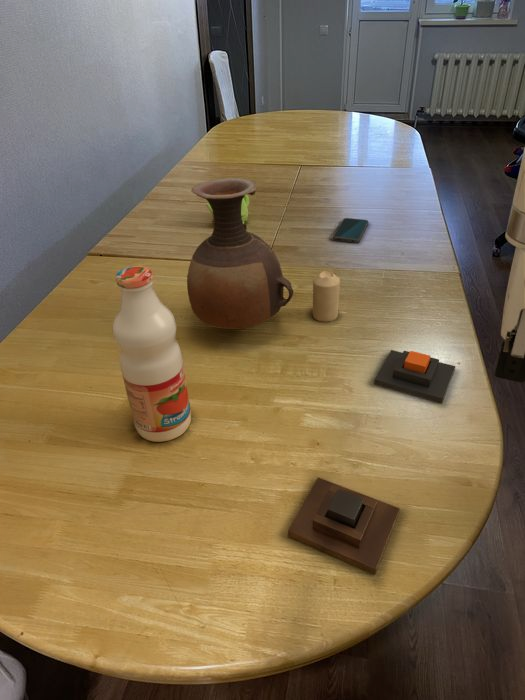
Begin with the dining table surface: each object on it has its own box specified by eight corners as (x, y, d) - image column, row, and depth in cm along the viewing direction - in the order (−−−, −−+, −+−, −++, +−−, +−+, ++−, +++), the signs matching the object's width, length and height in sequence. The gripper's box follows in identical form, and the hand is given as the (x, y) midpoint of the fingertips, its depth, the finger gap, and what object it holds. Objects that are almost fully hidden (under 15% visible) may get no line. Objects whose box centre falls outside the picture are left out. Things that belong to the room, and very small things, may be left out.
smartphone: (331, 240, 144) (331, 237, 143) (343, 220, 155) (344, 217, 155) (358, 243, 142) (359, 240, 141) (369, 222, 153) (369, 219, 153)
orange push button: (454, 371, 95) (457, 358, 93) (441, 403, 88) (444, 390, 86) (390, 354, 100) (392, 341, 98) (373, 384, 93) (375, 371, 91)
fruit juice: (149, 401, 91) (117, 256, 75) (199, 408, 89) (178, 260, 73) (126, 439, 84) (85, 287, 68) (180, 447, 82) (152, 292, 66)
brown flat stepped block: (399, 513, 70) (401, 499, 69) (375, 574, 63) (377, 560, 62) (317, 482, 75) (318, 468, 73) (287, 536, 68) (287, 521, 66)
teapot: (215, 215, 163) (212, 184, 157) (251, 215, 162) (249, 184, 156) (208, 230, 154) (204, 197, 148) (246, 230, 152) (244, 198, 147)
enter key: (429, 363, 93) (430, 355, 92) (423, 374, 90) (425, 366, 89) (409, 358, 94) (410, 350, 93) (403, 369, 92) (404, 361, 91)
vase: (308, 327, 109) (310, 185, 91) (240, 369, 98) (228, 216, 80) (235, 292, 122) (225, 162, 105) (169, 325, 112) (145, 186, 94)
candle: (339, 321, 110) (341, 279, 104) (313, 322, 110) (314, 280, 104) (336, 308, 115) (338, 267, 109) (311, 309, 115) (312, 268, 109)
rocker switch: (363, 507, 68) (363, 498, 67) (353, 528, 66) (354, 519, 65) (337, 497, 70) (338, 488, 69) (327, 517, 67) (327, 509, 66)
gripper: (595, 262, 43) (541, 425, 53) (594, 204, 54) (549, 349, 64) (498, 250, 46) (464, 406, 56) (516, 197, 57) (484, 336, 67)
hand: (509, 375), depth 60 cm, fingers closed
